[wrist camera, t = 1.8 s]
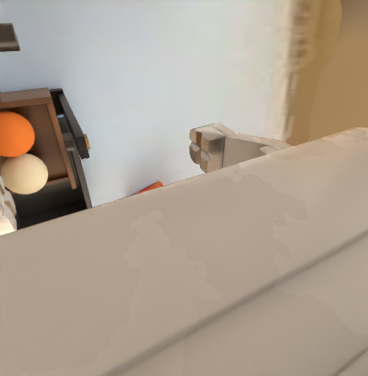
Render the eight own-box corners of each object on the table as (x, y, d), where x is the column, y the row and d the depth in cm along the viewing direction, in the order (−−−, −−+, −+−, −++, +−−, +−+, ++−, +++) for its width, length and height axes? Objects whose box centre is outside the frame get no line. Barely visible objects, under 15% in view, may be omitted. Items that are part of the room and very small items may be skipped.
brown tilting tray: (-121, 22, 18) (-141, 28, 16) (39, 19, 22) (42, 23, 19) (-20, 196, 27) (-23, 216, 25) (79, 173, 31) (85, 188, 29)
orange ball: (-27, 108, 23) (-32, 125, 20) (25, 101, 24) (27, 116, 21) (-7, 149, 25) (-10, 169, 22) (38, 141, 27) (42, 159, 24)
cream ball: (-7, 151, 25) (-9, 171, 22) (39, 142, 27) (42, 161, 24) (9, 184, 28) (9, 207, 25) (50, 175, 29) (55, 195, 26)
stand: (-51, 101, 31) (-84, 162, 20) (64, 88, 36) (86, 131, 25) (-38, 126, 33) (-61, 194, 22) (69, 111, 38) (93, 160, 27)
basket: (-29, 131, 34) (-35, 150, 30) (66, 117, 38) (73, 131, 34) (15, 220, 43) (16, 243, 39) (88, 199, 47) (95, 218, 43)
